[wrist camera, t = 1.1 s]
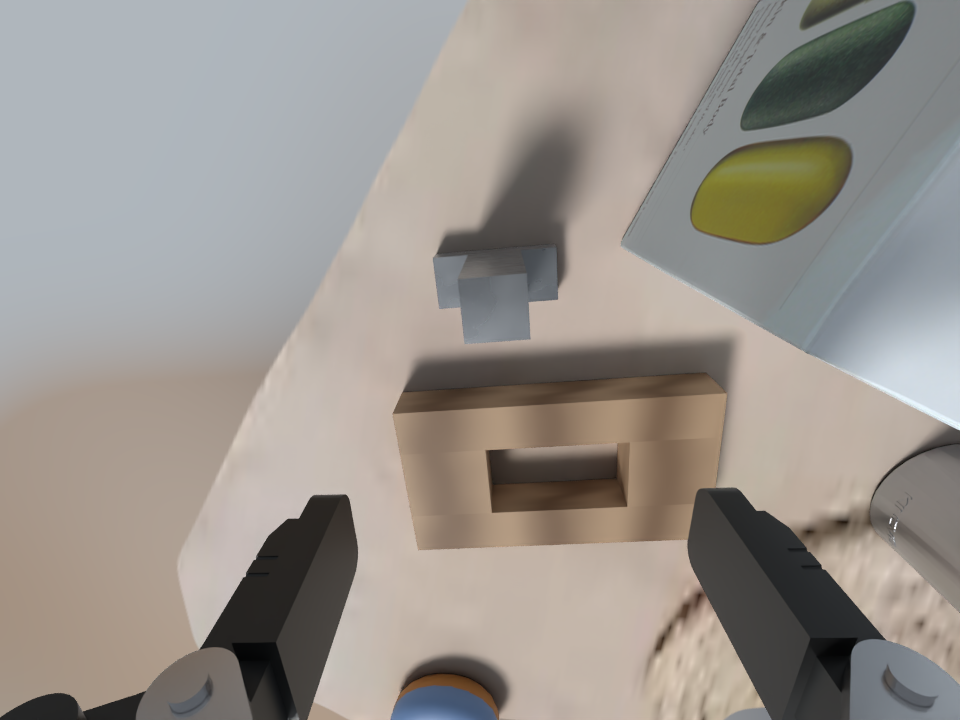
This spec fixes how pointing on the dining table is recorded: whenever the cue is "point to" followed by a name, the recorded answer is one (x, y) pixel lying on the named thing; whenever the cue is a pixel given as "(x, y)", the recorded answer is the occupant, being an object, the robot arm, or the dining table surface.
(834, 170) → the supplement box
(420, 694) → the doughnut
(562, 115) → the dining table surface
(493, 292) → the grey metal t-block
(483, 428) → the frame
